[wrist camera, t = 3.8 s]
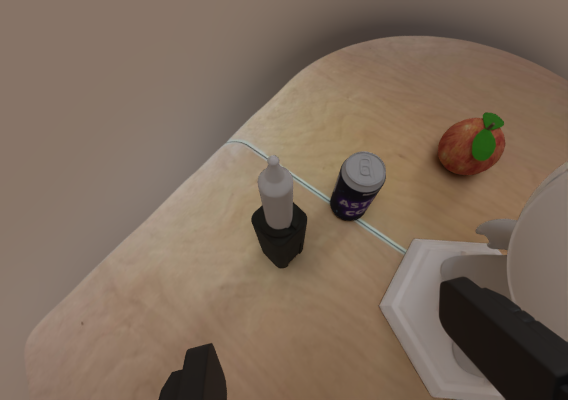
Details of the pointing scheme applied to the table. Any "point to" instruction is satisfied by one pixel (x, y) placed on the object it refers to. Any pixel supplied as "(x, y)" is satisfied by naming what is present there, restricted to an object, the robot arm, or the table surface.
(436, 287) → the white toy figurine
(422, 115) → the table surface
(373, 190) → the beverage can
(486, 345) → the robot arm
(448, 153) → the fruit
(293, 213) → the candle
